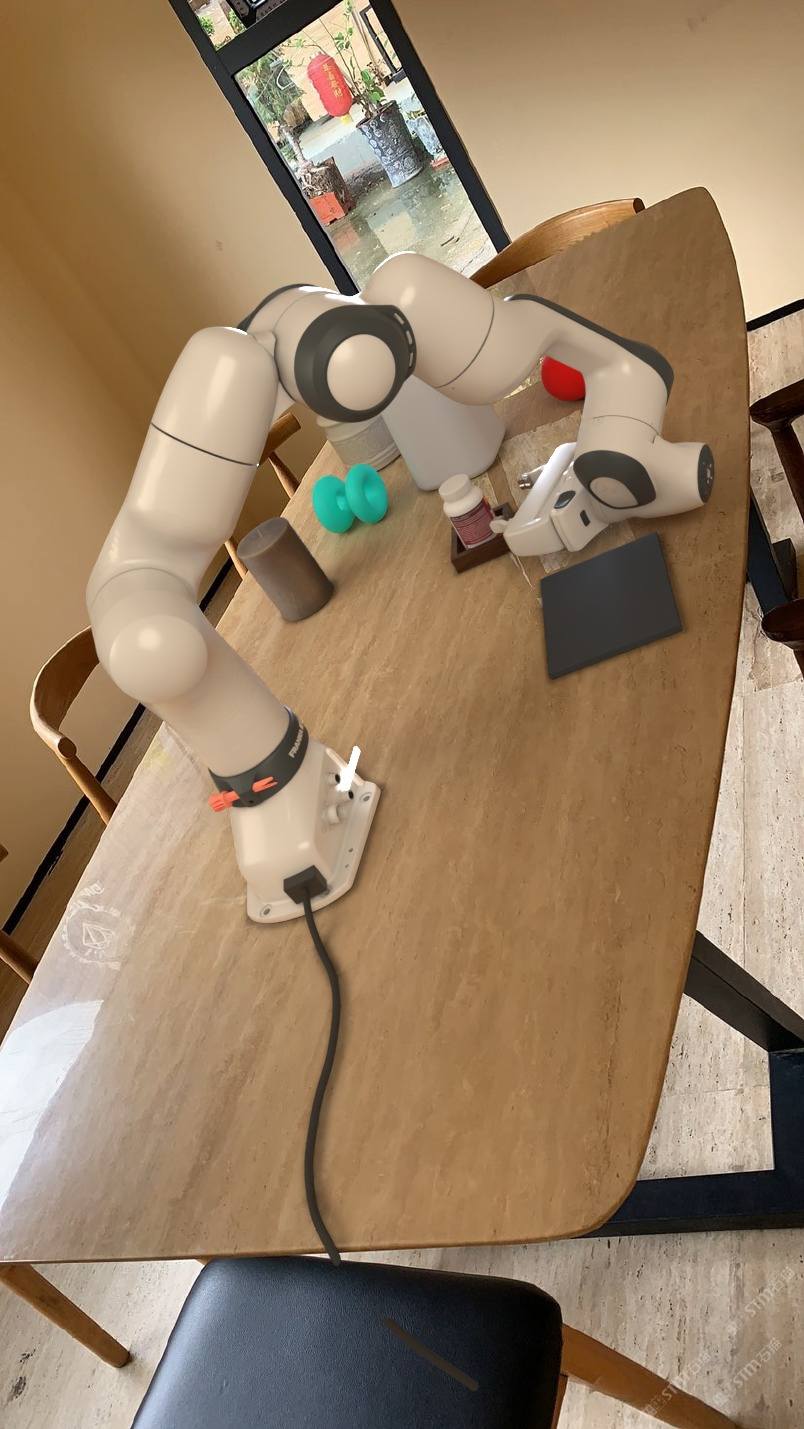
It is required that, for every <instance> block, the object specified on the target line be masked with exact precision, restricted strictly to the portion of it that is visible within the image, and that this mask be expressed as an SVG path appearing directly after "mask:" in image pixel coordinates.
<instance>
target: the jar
mask: <svg viewBox="0 0 804 1429" xmlns="http://www.w3.org/2000/svg"><path fill="white" fill-rule="evenodd" d="M315 422H316V425H317V426H319V427H321V428H323V429H324V432H325V438H326V440H327V441H328V442H329V443H330V445H331V446H332V448H333V449H334V452H336V454H337V456H338V457H339V459H340V461H341V462H342V465H343V467H344V468H345V470H346V471H347V472H349V470H350V469H351V468H352V467H354V466H355V465H358V464H366V465H369V466H371V467H372V468H374V469H375V470H376V471H377V472H378V471H380V470H382V469H383V468H385V467H386V466H388V465H390V463H392V462H393V461H395V459H397V458H398V457H399V456H400V455H401V453H400V451H399V449H398V447H397V445H396V443H395V441H394V439H393V437H392V435H391V433H390V431H389V429H388V427H387V425H386V423H385V421H384V419H383V417H382V415H381V413H380V414H378V415H377V416H375V417H373V418H371V419H369V420H366V421H362V422H357V423H343V422H337V421H332V420H329V419H326V418H324V417H322V416H320V415H318V414H317V416H316V421H315Z"/></svg>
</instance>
